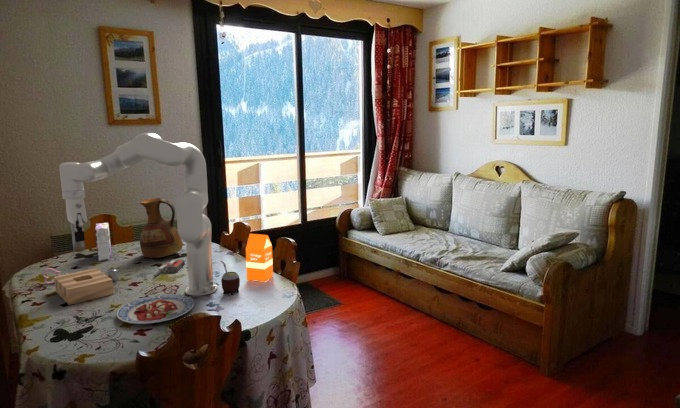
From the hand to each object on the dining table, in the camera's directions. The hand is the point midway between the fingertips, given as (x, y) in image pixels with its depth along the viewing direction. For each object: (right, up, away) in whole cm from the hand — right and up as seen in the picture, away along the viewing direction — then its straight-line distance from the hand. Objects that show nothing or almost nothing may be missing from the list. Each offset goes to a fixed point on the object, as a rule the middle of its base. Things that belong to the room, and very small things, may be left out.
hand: (78, 239), depth 182 cm
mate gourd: (+60, -22, +2) cm, 63 cm away
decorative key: (-14, -20, +18) cm, 30 cm away
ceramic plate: (+37, -26, -16) cm, 48 cm away
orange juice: (+68, -19, +19) cm, 73 cm away
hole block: (0, -22, +4) cm, 22 cm away
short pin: (+5, -19, +17) cm, 26 cm away
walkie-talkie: (+25, -17, +30) cm, 43 cm away
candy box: (-16, -13, +52) cm, 56 cm away
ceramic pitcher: (+12, -13, +55) cm, 57 cm away
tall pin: (0, -4, +1) cm, 4 cm away
